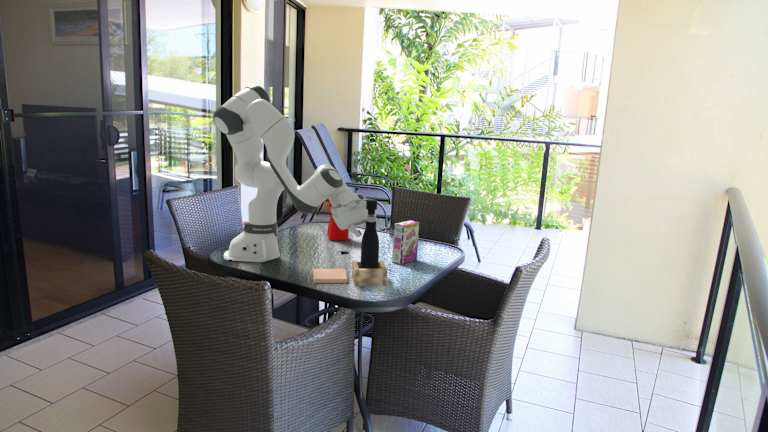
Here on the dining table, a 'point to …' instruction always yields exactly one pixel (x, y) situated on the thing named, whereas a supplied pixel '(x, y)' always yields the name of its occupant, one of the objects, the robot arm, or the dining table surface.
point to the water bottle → (336, 229)
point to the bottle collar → (369, 275)
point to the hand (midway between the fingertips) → (367, 233)
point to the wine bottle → (370, 239)
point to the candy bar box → (405, 242)
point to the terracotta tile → (329, 276)
